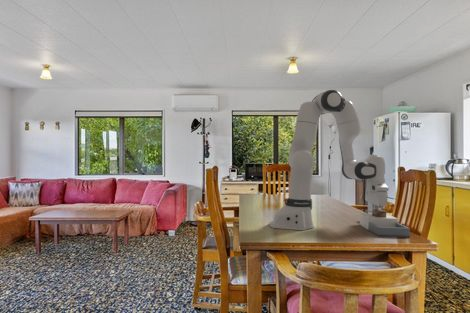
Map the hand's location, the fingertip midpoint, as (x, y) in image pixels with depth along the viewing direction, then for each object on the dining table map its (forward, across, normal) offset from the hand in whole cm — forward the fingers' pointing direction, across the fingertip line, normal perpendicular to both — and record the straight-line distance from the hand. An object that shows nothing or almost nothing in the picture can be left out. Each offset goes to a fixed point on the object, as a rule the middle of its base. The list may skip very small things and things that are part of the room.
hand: (375, 212), depth 164 cm
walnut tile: (+1, +5, 0) cm, 5 cm away
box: (+7, +16, 0) cm, 18 cm away
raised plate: (+7, +4, 0) cm, 8 cm away
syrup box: (+7, -16, +6) cm, 19 cm away
